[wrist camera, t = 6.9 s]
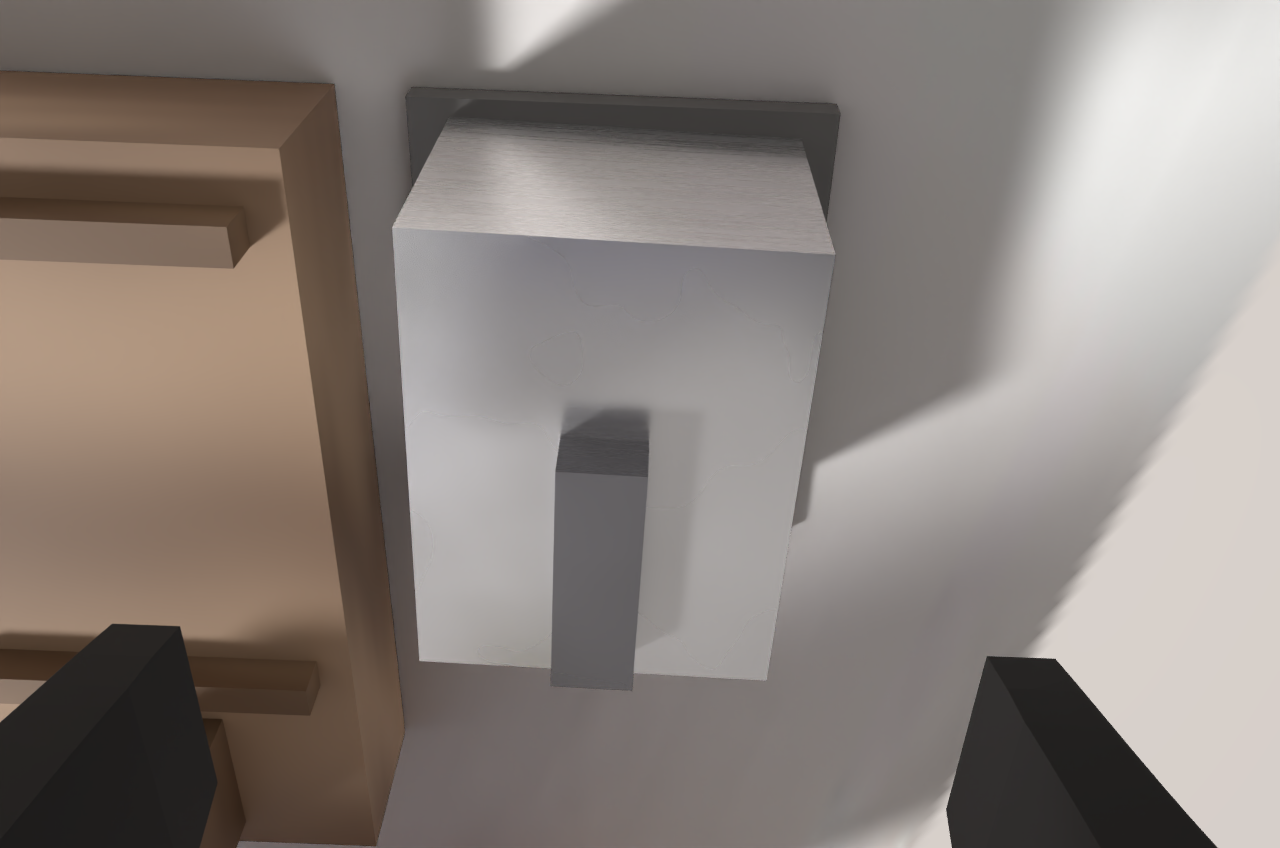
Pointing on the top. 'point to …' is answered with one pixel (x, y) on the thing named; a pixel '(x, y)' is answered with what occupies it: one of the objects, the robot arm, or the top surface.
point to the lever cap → (606, 394)
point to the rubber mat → (631, 119)
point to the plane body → (198, 428)
